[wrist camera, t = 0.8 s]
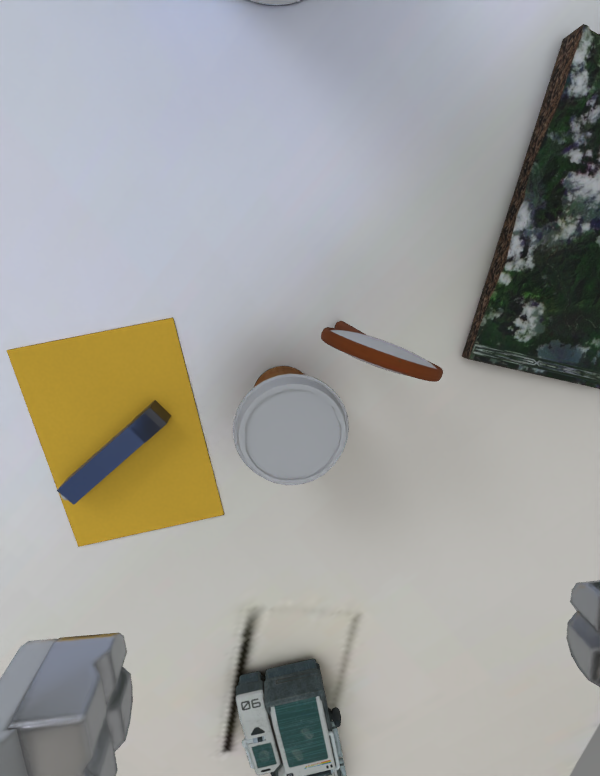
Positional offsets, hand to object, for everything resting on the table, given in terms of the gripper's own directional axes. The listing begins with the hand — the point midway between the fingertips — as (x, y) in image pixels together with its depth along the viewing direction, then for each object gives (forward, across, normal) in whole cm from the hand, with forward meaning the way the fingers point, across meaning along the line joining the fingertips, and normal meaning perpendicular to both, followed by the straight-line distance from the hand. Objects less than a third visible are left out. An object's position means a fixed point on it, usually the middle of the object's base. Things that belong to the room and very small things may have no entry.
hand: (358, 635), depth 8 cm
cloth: (+39, +16, +9) cm, 43 cm away
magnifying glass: (+40, -7, -1) cm, 40 cm away
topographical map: (+39, -37, -9) cm, 55 cm away
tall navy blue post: (+39, +17, +11) cm, 44 cm away
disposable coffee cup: (+40, -1, +6) cm, 40 cm away
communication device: (+40, 0, +52) cm, 65 cm away
